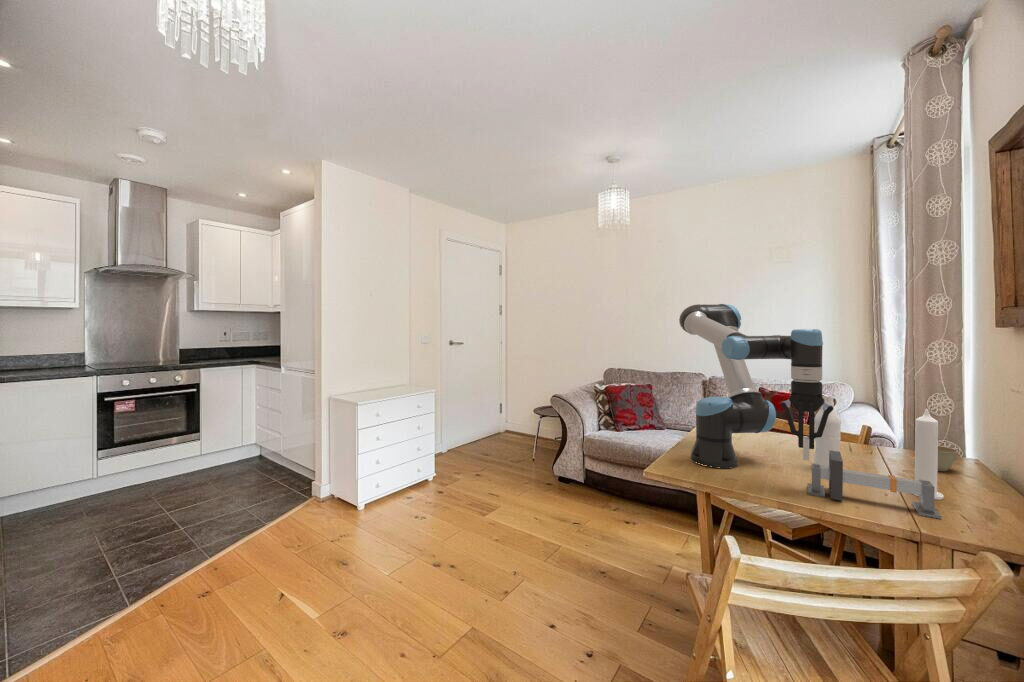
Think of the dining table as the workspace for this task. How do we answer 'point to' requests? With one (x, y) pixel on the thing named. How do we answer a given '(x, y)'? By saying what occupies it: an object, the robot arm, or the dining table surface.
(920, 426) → the candle
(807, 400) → the robot arm
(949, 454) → the flower pot
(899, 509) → the dining table surface
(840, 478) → the collar
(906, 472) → the dining table surface
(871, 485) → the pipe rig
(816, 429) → the water bottle
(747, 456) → the dining table surface
